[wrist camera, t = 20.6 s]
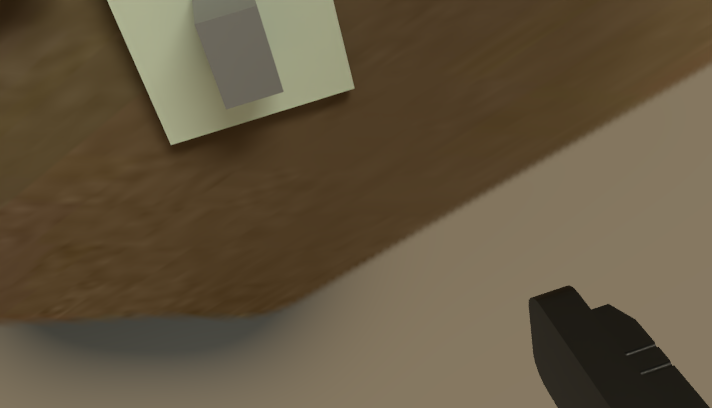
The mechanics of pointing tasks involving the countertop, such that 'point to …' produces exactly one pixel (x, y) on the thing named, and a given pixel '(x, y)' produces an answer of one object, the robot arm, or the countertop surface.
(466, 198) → the countertop surface
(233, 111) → the snap lid
